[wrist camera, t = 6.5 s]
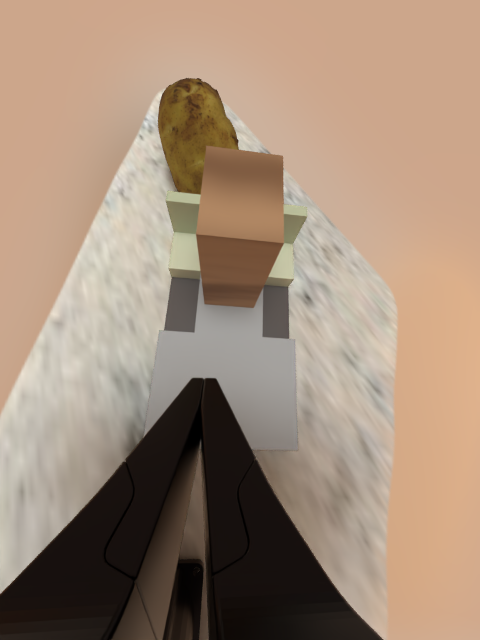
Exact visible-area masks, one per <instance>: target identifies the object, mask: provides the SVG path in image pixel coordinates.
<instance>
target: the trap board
mask: <svg viewBox="0 0 480 640" xmlns="http://www.w3.org/2000/svg"><path fill="white" fill-rule="evenodd" d="M200 196H201V195H199V194H190V193H182V192H173V191H167V196H166V203H167V207H168V211H169V215H170V219H171V223H172V226H173V230H174V235H173V241H172V248H171V255H170V261H169V271H170V273H171V276H172V280H171V287H170V294H169V301H168V308H167V315H166V322H165V329H164V331H162V330H159V335H158V342H157V348H156V355H155V362H154V369H153V375H152V382H151V389H150V395H149V402H148V409H147V415H146V422H145V429H144V436H145V435H146V433H147V432H148V431H149V430H150V429H151V427H152V426H153V425H154V424H155V422H156V421H157V420H158V419H159V417H160V416H161V415H162V414H163V413H164V411H165V410H166V409H167V408H168V406H169V405H170V404H171V403H172V402H173V400H174V399H175V398H176V397H177V395H178V394H179V393H180V392H181V390H182V389H183V388H184V387H185V386H186V384H187V383H188V382H189V381H190V379H191V378H203V379H205V378H216V379H217V380H218V382H219V384H220V387H221V389H222V391H223V393H224V395H225V397H226V399H227V401H228V403H229V405H230V407H231V409H232V411H233V413H234V415H235V417H236V419H237V421H238V423H239V425H240V427H241V429H242V431H243V433H244V435H245V437H246V439H247V441H248V443H249V445H250V447H251V449H252V450H287V451H298V431H297V391H296V352H295V339H289V304H288V286H289V285H290V284H291V282H292V281H293V279H294V272H293V243H294V241H295V239H296V237H297V235H298V233H299V231H300V229H301V228H302V226H303V224H304V222H305V220H306V218H307V207H303V206H294V205H285V204H284V244H283V246H282V248H281V251H280V253H279V255H278V257H277V259H276V261H275V263H274V266H273V268H272V270H271V272H270V274H269V276H268V278H267V281H266V283H265V285H264V287H263V289H262V291H261V293H260V296H259V298H258V300H257V302H256V304H255V306H254V308H246V307H234V306H221V305H208V304H204V296H203V288H202V279H201V271H200V263H199V255H198V247H197V238H196V230H197V221H198V213H199V204H200ZM144 436H143V437H144ZM200 448H201V444H200Z"/></svg>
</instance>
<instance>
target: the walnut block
mask: <svg viewBox="0 0 480 640" xmlns="http://www.w3.org/2000/svg"><path fill="white" fill-rule="evenodd" d="M196 238H197V247H198V255H199V263H200V271H201V279H202V288H203V296H204V304H208V305H221V306H234V307H246V308H254V306H255V304H256V302H257V300H258V298H259V296H260V293H261V291H262V289H263V287H264V285H265V283H266V281H267V278H268V276H269V274H270V272H271V270H272V268H273V266H274V263H275V261H276V259H277V257H278V255H279V253H280V251H281V248H282V246H283V244H284V198H283V156H280V155H273V154H265V153H258V152H250V151H243V150H235V149H228V148H221V147H213V146H206V154H205V162H204V171H203V179H202V188H201V196H200V204H199V213H198V221H197V230H196Z"/></svg>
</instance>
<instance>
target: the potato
mask: <svg viewBox="0 0 480 640" xmlns="http://www.w3.org/2000/svg"><path fill="white" fill-rule="evenodd" d="M158 128H159V134H160V138H161V143H162V147H163V151H164V154H165V158H166V160H167V163H168V165H169V168H170V171H171V173H172V177H173V180H174V183H175V186H176V188H177V190H178V192H182V193H190V194H199V195H201V188H202V179H203V171H204V162H205V154H206V146H213V147H221V148H228V149H235V150H239V149H238V139H237V136H236V132H235V130H234V127H233V125H232V123H231V122H230V120H229V119H228V118H227V117H226V114H225V110H224V106H223V104H222V101H221V98H220V96H219V94H218V91H217V90H215V89H213V88H212V87H211V86H210V85H209V84H208V83H206V82H202V81H201V79H199V78H197V79H191V78H190V79H189V78H186V79H182V80H179V81H177V82H175V83H174V84H172V85H169V86H168V87H167V88H166V90H165V91H164V93H163V94H162V97H161V101H160V106H159V115H158Z"/></svg>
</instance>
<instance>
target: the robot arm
mask: <svg viewBox="0 0 480 640" xmlns="http://www.w3.org/2000/svg"><path fill="white" fill-rule="evenodd" d="M200 444H201V463H202V487H203V511H204V535H205V559H206V583H207V607H208V631H209V640H383V639H382V638H381V637H380V636H379V635H378V634H377V633H376V632H375V631H374V630H373V629H372V628H371V627H370V626H369V625H368V624H367V623H366V622H365V621H364V620H363V619H362V618H361V617H360V616H359V615H358V614H357V613H356V611H355V610H354V609H353V608H352V607H351V606H350V605H349V604H348V602H347V601H346V600H345V599H344V597H343V596H342V595H341V594H340V592H339V591H338V590H337V588H336V587H335V586H334V584H333V583H332V581H331V580H330V579H329V577H328V576H327V574H326V573H325V571H324V570H323V568H322V567H321V565H320V564H319V562H318V560H317V559H316V557H315V556H314V554H313V553H312V551H311V550H310V548H309V547H308V545H307V543H306V542H305V540H304V539H303V537H302V536H301V534H300V533H299V531H298V530H297V528H296V526H295V525H294V523H293V522H292V520H291V519H290V517H289V516H288V514H287V513H286V511H285V509H284V508H283V506H282V504H281V503H280V501H279V499H278V498H277V496H276V495H275V493H274V491H273V489H272V488H271V486H270V484H269V482H268V480H267V478H266V476H265V475H264V473H263V471H262V469H261V467H260V465H259V463H258V461H257V460H256V457H255V455H254V453H253V451H252V449H251V447H250V445H249V443H248V441H247V439H246V437H245V435H244V433H243V431H242V429H241V427H240V425H239V423H238V421H237V419H236V417H235V415H234V413H233V411H232V409H231V407H230V405H229V403H228V401H227V399H226V397H225V395H224V393H223V391H222V389H221V387H220V384H219V382H218V380H217V379H216V378H205V379H203V378H191V379H190V381H189V382H188V383H187V384H186V386H185V387H184V388H183V389H182V390H181V392H180V393H179V394H178V395H177V397H176V398H175V399H174V400H173V402H172V403H171V404H170V405H169V406H168V408H167V409H166V410H165V411H164V413H163V414H162V415H161V416H160V417H159V419H158V420H157V421H156V422H155V424H154V425H153V426H152V427H151V429H150V430H149V431H148V432H147V433H146V435H145V436H144V437H143V438H142V440H141V441H140V442H139V443H138V444H137V446H136V447H135V448H134V449H133V451H132V452H131V453H130V454H129V456H128V457H127V458H126V462H125V461H124V462H123V463H122V464H121V465H120V466H119V468H118V469H117V470H116V471H115V473H114V474H113V475H112V476H111V477H110V479H109V480H108V481H107V482H106V483H105V484H104V486H103V487H102V488H101V489H100V490H99V491H98V493H97V494H96V495H95V496H94V497H93V498H92V499H91V500H90V501H89V502H88V503H87V505H86V506H85V507H84V508H83V509H82V510H81V511H80V512H79V513H78V514H77V515H76V516H75V517H74V519H73V520H72V521H71V522H70V523H69V524H68V525H67V526H66V527H65V528H64V529H63V530H62V531H61V532H60V533H59V534H58V535H57V536H56V537H55V538H54V539H53V540H52V541H51V542H50V543H49V544H48V546H47V547H46V548H45V549H44V550H43V551H42V552H41V553H40V554H39V555H38V556H37V557H36V558H35V559H34V560H33V561H32V562H31V563H30V564H29V565H28V566H27V567H26V568H25V569H24V570H23V571H22V572H21V574H20V575H19V576H18V577H17V578H16V579H15V580H14V581H13V582H12V583H11V584H10V585H9V586H8V587H7V588H6V589H5V590H4V591H3V592H2V593H1V594H0V640H199V629H200V615H201V601H202V587H203V572H204V564H203V562H202V561H201V560H198V559H187V560H178V558H179V553H180V548H181V542H182V537H183V532H184V527H185V522H186V517H187V512H188V507H189V502H190V496H191V491H192V486H193V481H194V476H195V471H196V466H197V461H198V456H199V450H200ZM196 567H197V568H199V569H200V570H199V572H195V571H194V569H195V568H196Z"/></svg>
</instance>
